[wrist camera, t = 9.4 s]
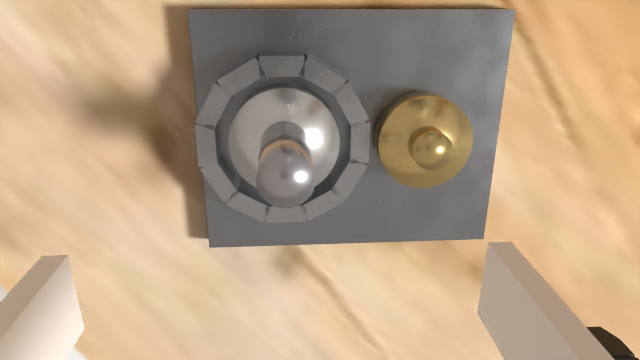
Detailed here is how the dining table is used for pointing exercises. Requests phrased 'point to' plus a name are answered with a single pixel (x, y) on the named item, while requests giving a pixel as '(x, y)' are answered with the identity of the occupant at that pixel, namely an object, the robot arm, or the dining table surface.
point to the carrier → (358, 119)
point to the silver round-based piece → (284, 143)
